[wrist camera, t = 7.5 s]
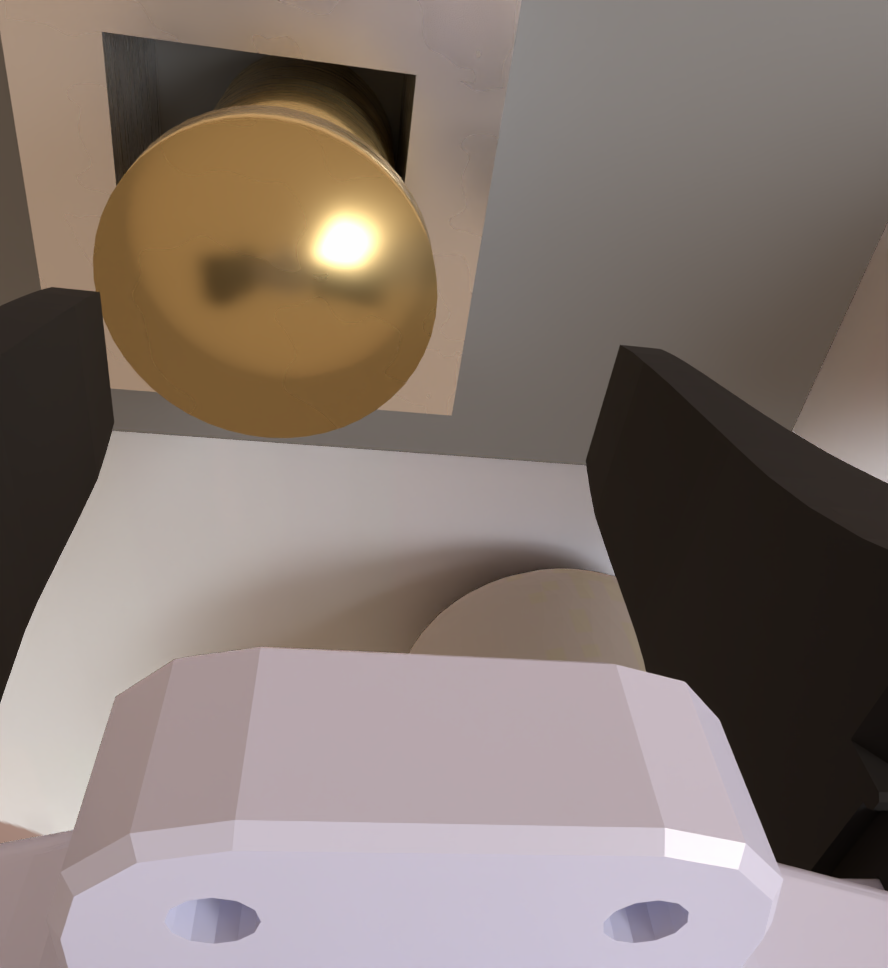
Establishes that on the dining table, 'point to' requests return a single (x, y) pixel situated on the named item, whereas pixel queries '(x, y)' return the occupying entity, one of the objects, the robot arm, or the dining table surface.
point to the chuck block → (273, 31)
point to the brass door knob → (270, 257)
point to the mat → (615, 212)
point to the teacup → (539, 620)
